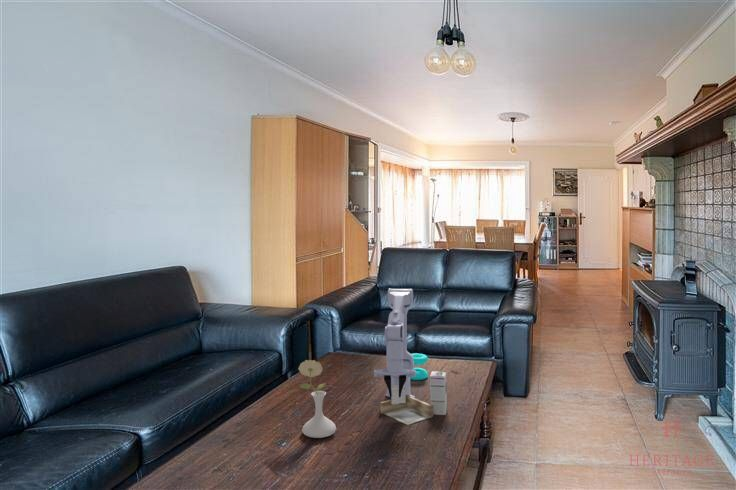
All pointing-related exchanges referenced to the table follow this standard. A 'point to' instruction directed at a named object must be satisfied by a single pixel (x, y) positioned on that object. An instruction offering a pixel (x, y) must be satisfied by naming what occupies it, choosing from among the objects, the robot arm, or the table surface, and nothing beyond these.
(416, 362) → the donuts
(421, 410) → the arena
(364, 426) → the table surface
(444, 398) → the syrup box
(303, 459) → the table surface
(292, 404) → the table surface
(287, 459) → the table surface
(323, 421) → the flower in vase
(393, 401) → the bracket
